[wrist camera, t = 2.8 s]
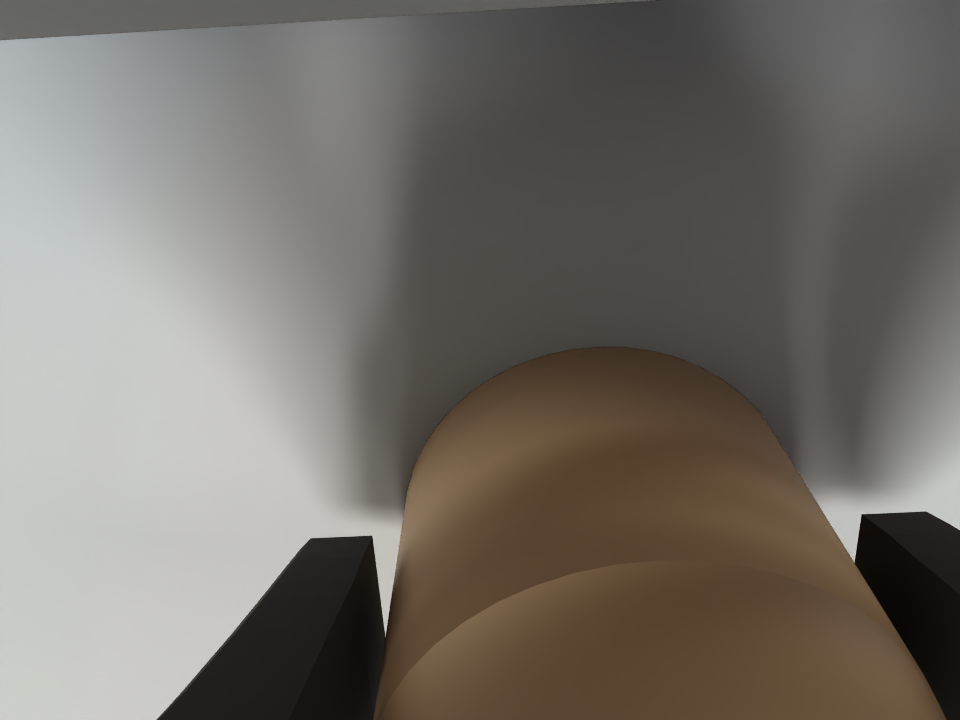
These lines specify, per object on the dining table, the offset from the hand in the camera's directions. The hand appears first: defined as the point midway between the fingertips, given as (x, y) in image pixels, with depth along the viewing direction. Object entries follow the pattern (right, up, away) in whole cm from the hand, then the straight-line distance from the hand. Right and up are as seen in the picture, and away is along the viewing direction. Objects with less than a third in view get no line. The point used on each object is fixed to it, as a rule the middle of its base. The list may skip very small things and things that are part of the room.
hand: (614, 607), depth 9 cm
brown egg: (0, +1, +1) cm, 2 cm away
